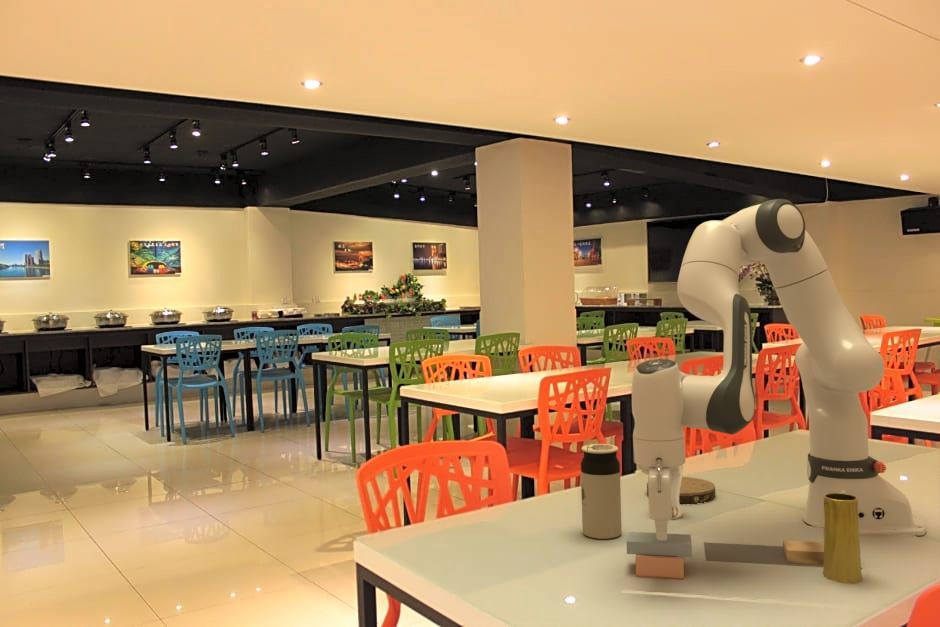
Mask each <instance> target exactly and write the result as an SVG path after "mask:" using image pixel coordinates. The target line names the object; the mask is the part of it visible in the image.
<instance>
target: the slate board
mask: <svg viewBox="0 0 940 627" xmlns="http://www.w3.org/2000/svg"><path fill="white" fill-rule="evenodd" d="M692 548H693V547H692V534H687V533H686V534H685V533H667V540H658V539H657V537H656V532H644V531H643V532H642V531H627V537H626V555H636V554H639V555H657V556H675V557H683V558H692V557H693V549H692Z"/></svg>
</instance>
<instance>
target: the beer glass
mask: <svg viewBox="0 0 940 627" xmlns="http://www.w3.org/2000/svg"><path fill="white" fill-rule="evenodd" d="M683 465H684V464H683ZM683 465H680V466H678V472H677V473H676V474H673V478H672V487H671V492H672V518H671V519H670V520H677V519H680V518H682V515H683V513H682V510H681V505H680V501H679V499H680V489H681V483H682V477H683V475H684V474H683V472H684V471H683V470H684V469H683V468H684V466H683Z"/></svg>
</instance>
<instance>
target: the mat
mask: <svg viewBox="0 0 940 627" xmlns="http://www.w3.org/2000/svg"><path fill="white" fill-rule="evenodd" d="M703 547H704V555H705V556H704V557H705V561H708V562H709V561H711V562H724V563H742V564H743V563H744V564H757V565H758V564H760V565H761V564H762V565H763V564H764V565H777V566H778V565H781V566H795V567H797V566H798V567H813V568H815V567H816V568H823V564H806V563H788V562H787V560H786V558H785V556H784V553H783V545H782V546H780V545H765V544H764V545H763V544H762V545H760V544H757V545H756V544H746V543H745V544H742V543H726V542H725V543H723V542H722V543H721V542H707V541H706V542H705V541H704V542H703ZM861 570H863V567H861Z"/></svg>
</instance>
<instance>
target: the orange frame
mask: <svg viewBox="0 0 940 627" xmlns="http://www.w3.org/2000/svg"><path fill="white" fill-rule="evenodd" d="M684 566H685V564H684V557H675V556H657V555H639V554H635V577H637V578H638V577H640V578H651V579H652V578H654V579H667V580H668V579H670V580H671V579H672V580H685V571H684V570H685V569H684Z"/></svg>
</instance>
